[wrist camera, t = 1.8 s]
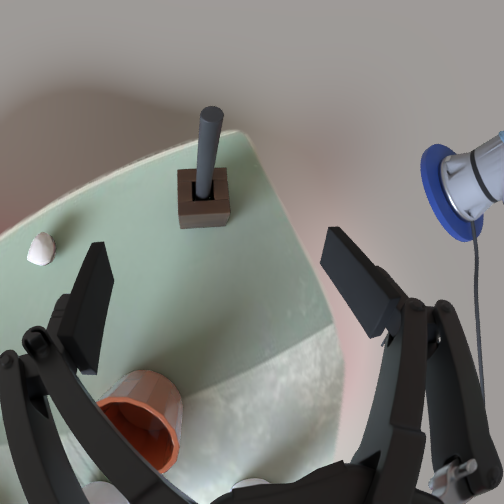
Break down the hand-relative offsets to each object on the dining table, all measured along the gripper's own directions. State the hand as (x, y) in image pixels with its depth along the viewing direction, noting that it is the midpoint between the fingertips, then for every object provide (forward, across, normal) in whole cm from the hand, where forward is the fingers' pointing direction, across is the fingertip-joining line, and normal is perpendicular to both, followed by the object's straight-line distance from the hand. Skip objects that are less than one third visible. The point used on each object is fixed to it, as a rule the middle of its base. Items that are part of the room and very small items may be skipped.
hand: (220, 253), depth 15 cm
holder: (+19, 0, -6) cm, 20 cm away
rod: (+19, 0, -6) cm, 20 cm away
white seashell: (+16, -22, -9) cm, 29 cm away
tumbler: (+2, -9, -22) cm, 24 cm away
